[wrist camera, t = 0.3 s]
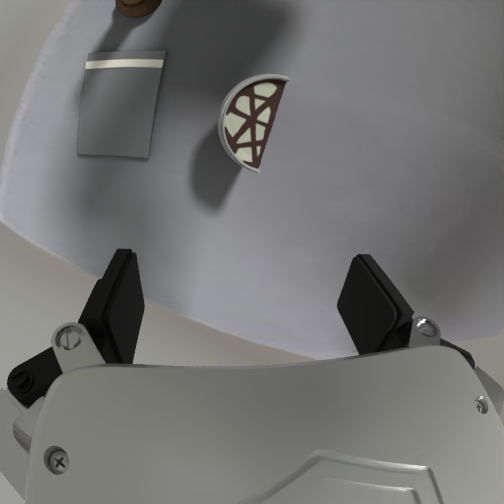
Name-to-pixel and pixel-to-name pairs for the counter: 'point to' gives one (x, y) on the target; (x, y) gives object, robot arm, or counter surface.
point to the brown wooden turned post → (137, 7)
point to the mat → (119, 102)
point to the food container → (250, 118)
